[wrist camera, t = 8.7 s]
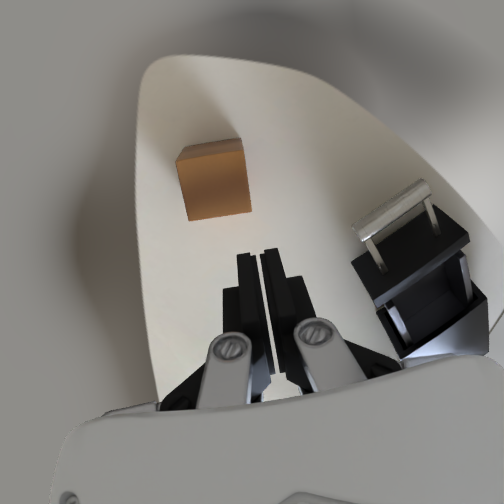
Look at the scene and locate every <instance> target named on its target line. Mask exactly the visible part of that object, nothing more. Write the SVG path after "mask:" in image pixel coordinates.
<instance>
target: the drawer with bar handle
mask: <svg viewBox="0 0 504 504" xmlns="http://www.w3.org/2000/svg"><path fill="white" fill-rule="evenodd" d="M431 194H432V193H431V189H430V187H429V186H428V184H427V183H426V181H425V180H423V179H422V178H420V179H418V180H417V181H415V182H414V183H413V184H411V185H410V186H408V187H407V188H405V189H404V190H403V191H401V192H400V193H398V194H397V195H396V196H394V197H393V198H391V199H390V200H388V201H387V202H385V203H384V204H383V205H381V206H380V207H378V208H377V209H375V210H374V211H372V212H371V213H370V214H368V215H367V216H365V217H364V218H362V219H361V220H359V221H358V222H356V223H355V224H353V225H352V228H353V230H354V231H355V233H356V234H357V236H358V238H359V239H360V240H361V242H362V243H365V244H366V246H367V248H368V251H366V252H365V253H363V254H362V255H360V256H359V257H357V258H356V259H354V260H353V261H351V264H352V265H353V267H354V269H355V271H356V272H357V274H358V276H359V277H360V279H361V281H362V283H363V284H364V286H365V288H366V290H367V291H368V293H369V295H370V297H371V299H372V300H373V302H374V304H375V305H376V307H377V308H378V307H380V306H381V305H383V304H384V306H385V307H386V309H387V311H388V313H389V315H390V316H391V318H392V320H393V322H394V324H395V325H396V327H397V329H398V331H399V333H400V335H401V336H402V338H403V340H404V342H405V344H406V346H407V348H409V347H411V346H412V345H414V344H415V343H417V342H418V341H420V340H421V339H423V338H424V337H426V336H427V335H429V334H430V333H432V332H433V331H435V330H436V329H438V328H439V327H441V326H442V325H443V324H445V323H446V322H448V321H449V320H450V319H452V318H453V317H454V316H456V315H457V314H458V313H460V312H461V311H462V310H464V309H465V308H466V307H468V306H469V305H470V304H472V303H473V302H474V301H473V294H472V287H471V281H470V275H469V270H468V265H467V260H466V255H465V254H464V253H463V252H462V251H461V250H460V249H462V248H463V247H464V246H465V245H467V244H468V243H469V242H470V239H469V234H468V232H467V231H466V230H465V229H464V228H462V227H461V226H460V225H459V224H458V223H456V222H455V221H454V220H453V219H452V218H450V217H449V216H448V215H447V214H445V213H444V212H443V211H442V210H440V209H439V208H438V207H437V206H435V205H434V204H433V205H431V202H430V200H429V196H431ZM421 202H422V204H423V207H424V209H425V211H424V212H422V213H421V214H420V215H418V216H417V217H415V218H414V219H413V220H411V221H410V222H408V223H407V224H406V225H404V226H403V227H401V228H400V229H399V230H397V231H396V232H394V233H393V234H391V235H390V236H388V237H387V238H386V239H384V240H383V241H381V242H380V243H378V244H377V245H374V243H373V241H372V239H371V237H373V236H374V235H375V234H377V233H378V232H380V231H381V230H383V229H384V228H386V227H387V226H388V225H390V224H391V223H393V222H394V221H396V220H397V219H399V218H400V217H401V216H403V215H404V214H406V213H407V212H408V211H410V210H411V209H413V208H414V207H415V206H417V205H418V204H420V203H421Z"/></svg>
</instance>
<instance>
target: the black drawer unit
mask: <svg viewBox="0 0 504 504" xmlns="http://www.w3.org/2000/svg"><path fill="white" fill-rule="evenodd" d="M470 281H471V287H472V294H473V301H474V302H473V303H472V304H470V305H469V306H468V307H466V308H465V309H464V310H462V311H461V312H460V313H458V314H457V315H456V316H454V317H453V318H452V319H450V320H449V321H448V322H446V323H445V324H443V325H442V326H441V327H439V328H438V329H436V330H435V331H433V332H432V333H430V334H429V335H427V336H426V337H424V338H423V339H421V340H420V341H418V342H417V343H415V344H414V345H412V346H411V347H409V348H407V346H406V344H405V342H404V340H403V338H402V336H401V335H400V333H399V331H398V329H397V327H396V325H395V324H394V322H393V320H392V318H391V316H390V315H389V313H388V311H387V309H386V307H384V308H382V309H381V310H379V311H377V312H376V314H377V315H378V317H379V319H380V321H381V323H382V325H383V327H384V329H385V331H386V333H387V335H388V336H389V338H390V340H391V342H392V344H393V346H394V348H395V350H396V352H397V354H398V356H399V358H400V360H401V361H402V359H403V358H411V357H420V356H429V355H437V354H444V353H453V354H456V355H481V356H484V355H485V354H487V353H488V352H489V321H488V302H487V297H486V296H485V295H484V294H483V293H482V292H481V291H480V289H479V288H478V287H477V286H476V285H475V284H474V283H473V281H472V280H471V279H470Z"/></svg>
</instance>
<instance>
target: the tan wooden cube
mask: <svg viewBox="0 0 504 504" xmlns="http://www.w3.org/2000/svg"><path fill="white" fill-rule="evenodd" d="M176 167H177V171H178V176H179V181H180V185H181V190H182V194H183V199H184V203H185V207H186V212H187V216H188V220H189V221H195V220H202V219H208V218H214V217H221V216H228V215H234V214H241V213H248V212H252V207H251V200H250V192H249V185H248V177H247V170H246V163H245V155H244V149H243V145H242V140H241V138H236V139H229V140H222V141H216V142H210V143H204V144H198V145H193V146H187V147H184V149H183V150H182V152H181V153H180V155H179V157H178V158H177V160H176Z"/></svg>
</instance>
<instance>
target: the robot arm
mask: <svg viewBox="0 0 504 504" xmlns="http://www.w3.org/2000/svg"><path fill="white" fill-rule="evenodd" d="M264 252H265V254H260V259H261V265H262V272H263V278H264V284H265V290H266V296H267V302H268V308H269V314H270V320H271V325H272V331H273V336H274V342H275V348H276V353H277V359H278V364H279V370H280V373H284V372H286V378H287V380H289V381H291V382H293V383H294V384H296V385H298V390H299V393H300V396H295V397H290V398H284V399H278V400H272V401H265V402H263V401H264V394H263V391H264V390H265V389H266V387H267V386H268V385H269V384H270V383H271V378H270V375H272V374H275V368H274V362H273V356H272V350H271V344H270V338H269V331H268V325H267V319H266V313H265V307H264V302H263V296H262V290H261V284H260V278H259V272H258V267H257V261H256V255H253V256H250V253H244V254H238V255H237V268H238V282H239V286H237V287H231V288H225V289H223V334H221V335H219V336H217V337H216V338H215V339H214V340H213V341H212V342H211V344H210V346H209V349H208V354H207V358H206V362H205V363H204V364H203V365H202V366H201V367H200V368H199V369H197V370H196V371H195V372H194V373H193V374H192V375H190V376H189V377H188V378H187V379H186V380H185V381H184V382H182V383H181V384H180V385H179V386H178V387H176V388H175V389H174V390H173V391H172V392H171V393H169V394H168V395H167V396H166V397H165V398H164V399H163V400H162V402H160V403H156V402H155V401H152V402H148V403H144V404H139V405H135V406H130V407H126V408H121V409H116V410H111V411H109V412H106V413H105V414H104V415H102V416H101V417H98V418H95V419H92V420H89V421H86V422H84V423H82V424H80V425H78V426H76V427H75V428H74V429H72V430H71V431H70V432H69V434H68V435H67V437H66V438H65V440H64V442H63V445H62V447H61V450H60V453H59V456H58V459H57V463H56V466H55V471H54V475H53V481H52V485H51V492H50V499H49V504H504V369H503V367H502V366H500V364H498V363H497V362H496V361H494V360H493V359H491V358H489V357H486V356H481V355H456V354H453V353H444V354H437V355H429V356H420V357H411V358H403V359H402V361H399V362H397V361H396V360H394V359H392V358H390V357H388V356H385V355H382V354H380V353H377V352H375V351H372V350H370V349H367V348H364V347H362V346H359V345H357V344H354V343H352V342H349V341H347V340H344V339H343V338H342V336H341V335H340V333H339V332H338V330H337V328H336V327H335V325H334V324H333V323H332V322H330V321H329V320H327V319H324V318H317V317H316V314H315V311H314V308H313V305H312V303H311V300H310V297H309V294H308V291H307V288H306V286H305V283H304V280H303V277H302V276H295V277H290V278H286V276H285V272H284V269H283V265H282V262H281V258H280V255H279V251H278V248H273V249H267V250H264Z"/></svg>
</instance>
